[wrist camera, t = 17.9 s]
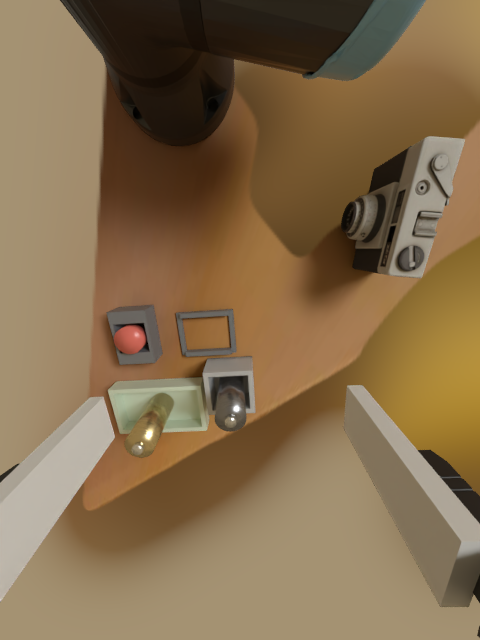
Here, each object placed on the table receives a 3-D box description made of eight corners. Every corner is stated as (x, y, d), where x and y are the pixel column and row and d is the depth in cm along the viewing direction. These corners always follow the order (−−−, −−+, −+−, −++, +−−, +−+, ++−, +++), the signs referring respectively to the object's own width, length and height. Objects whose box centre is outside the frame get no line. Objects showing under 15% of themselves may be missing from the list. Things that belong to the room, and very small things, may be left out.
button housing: (115, 307, 39) (102, 312, 35) (153, 304, 38) (144, 310, 35) (126, 355, 41) (116, 364, 38) (162, 353, 41) (155, 362, 38)
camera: (347, 164, 32) (390, 127, 22) (406, 169, 32) (474, 135, 22) (327, 266, 36) (356, 273, 26) (379, 271, 36) (427, 279, 26)
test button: (118, 324, 37) (110, 328, 35) (144, 323, 37) (139, 327, 35) (123, 349, 38) (117, 354, 36) (149, 348, 38) (144, 353, 36)
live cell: (149, 393, 43) (118, 439, 33) (172, 392, 43) (148, 437, 32) (153, 412, 44) (125, 462, 34) (175, 411, 44) (154, 461, 34)
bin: (207, 358, 41) (202, 373, 36) (251, 356, 41) (252, 370, 36) (212, 396, 43) (208, 414, 39) (254, 394, 43) (255, 412, 38)
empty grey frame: (176, 312, 39) (174, 314, 38) (232, 309, 38) (232, 310, 37) (183, 354, 41) (181, 356, 40) (236, 351, 40) (236, 353, 40)
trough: (116, 381, 43) (107, 390, 40) (203, 377, 42) (200, 385, 40) (127, 423, 46) (120, 433, 43) (209, 419, 45) (206, 430, 42)
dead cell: (221, 366, 41) (217, 407, 30) (245, 370, 41) (249, 412, 31) (217, 387, 42) (212, 433, 32) (240, 391, 42) (243, 437, 32)
